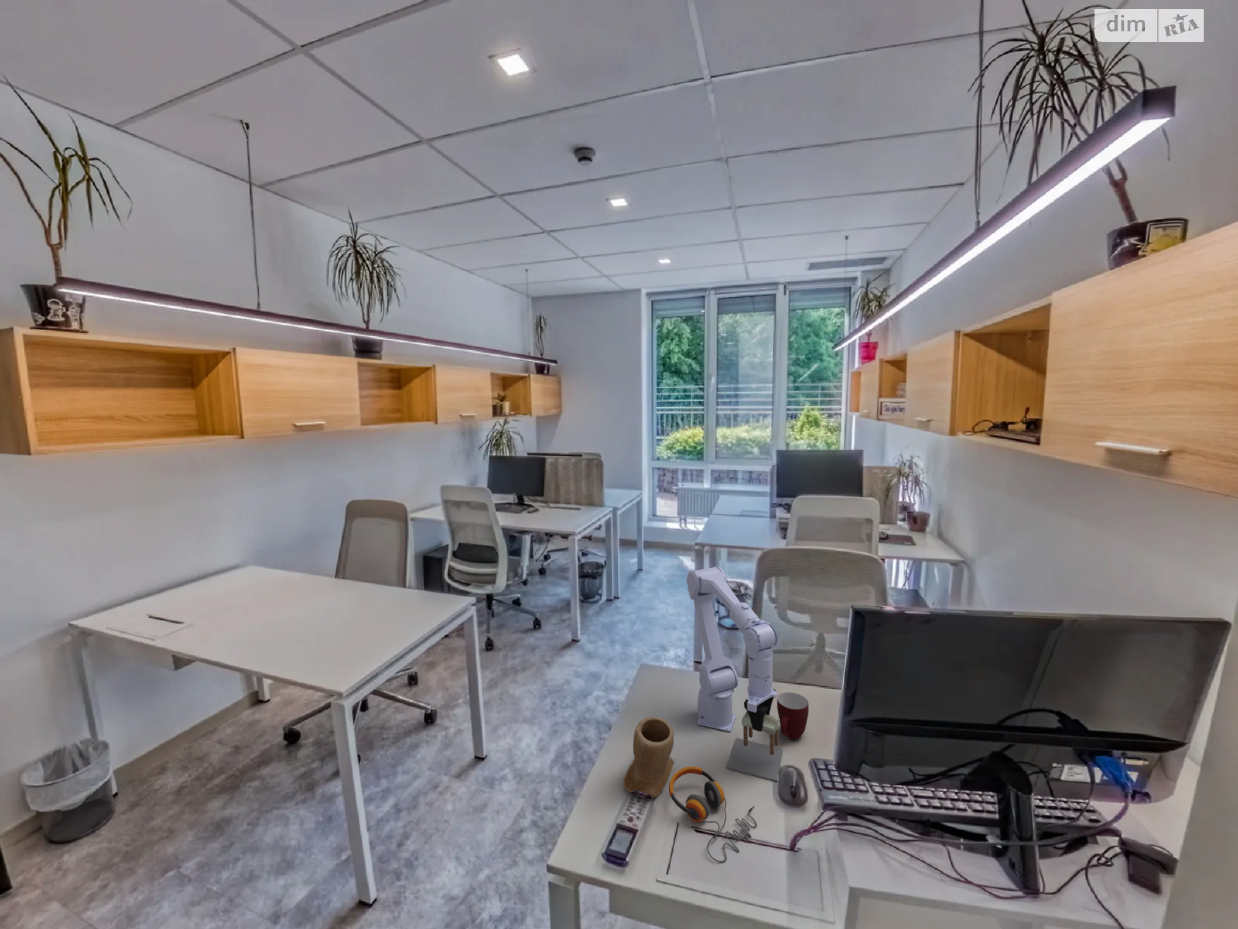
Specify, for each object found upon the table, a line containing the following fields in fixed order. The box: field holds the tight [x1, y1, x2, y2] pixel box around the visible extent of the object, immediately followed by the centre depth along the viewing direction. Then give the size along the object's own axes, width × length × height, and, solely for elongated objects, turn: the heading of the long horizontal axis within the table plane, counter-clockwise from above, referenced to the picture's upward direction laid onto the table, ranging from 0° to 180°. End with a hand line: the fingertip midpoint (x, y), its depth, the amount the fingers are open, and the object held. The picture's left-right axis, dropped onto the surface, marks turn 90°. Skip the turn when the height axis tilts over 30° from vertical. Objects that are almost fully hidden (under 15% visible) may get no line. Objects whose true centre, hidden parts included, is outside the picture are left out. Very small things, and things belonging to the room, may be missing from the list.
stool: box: [741, 711, 781, 755], centre depth 122 cm, size 5×8×7 cm, turn 56°
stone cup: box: [622, 716, 675, 798], centre depth 117 cm, size 15×12×15 cm
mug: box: [776, 691, 810, 741], centre depth 131 cm, size 10×8×10 cm
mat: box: [726, 737, 784, 783], centre depth 123 cm, size 12×12×1 cm
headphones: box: [668, 765, 758, 863], centre depth 106 cm, size 17×5×20 cm
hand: (760, 723), depth 121 cm, fingers closed on stool, 5 cm apart
